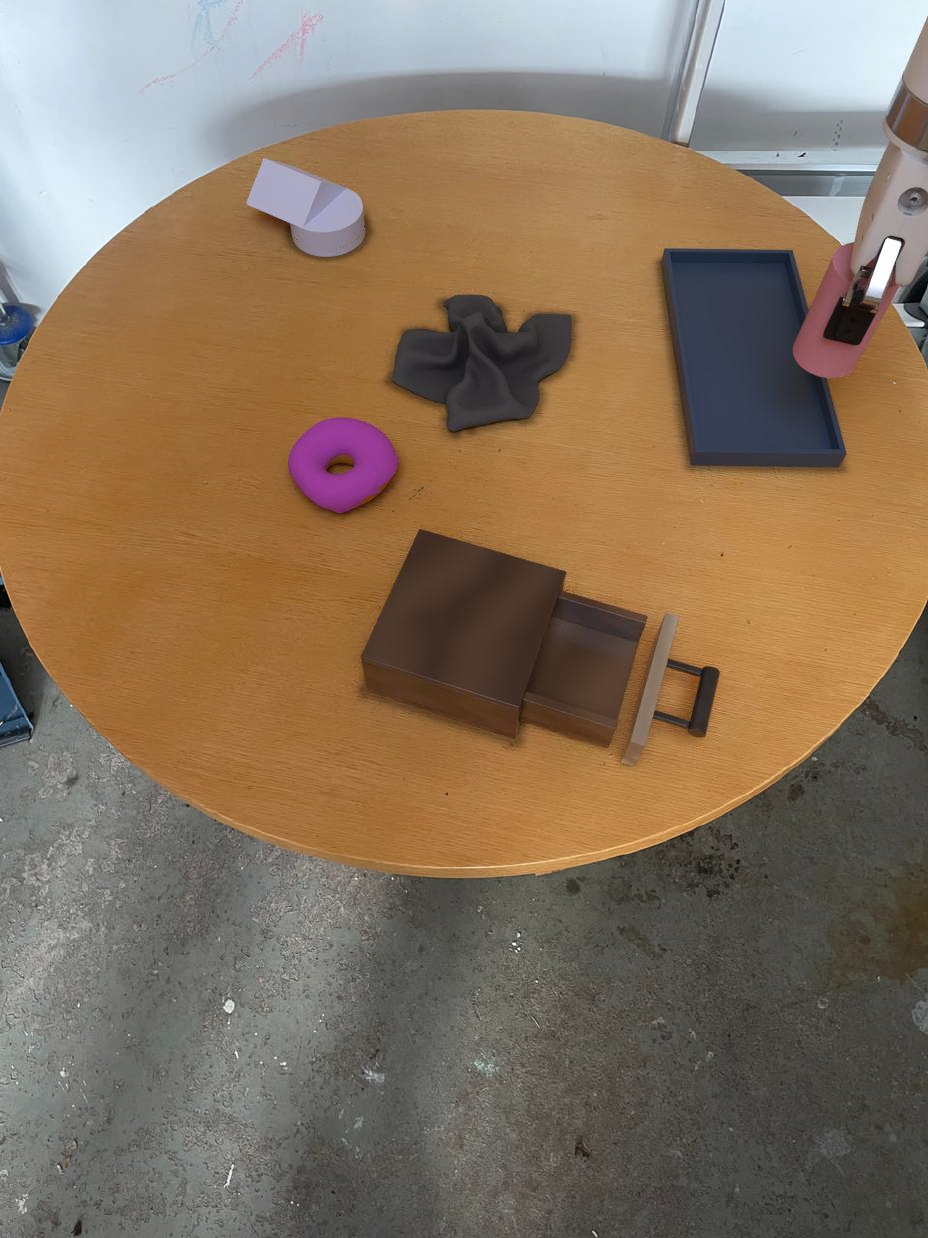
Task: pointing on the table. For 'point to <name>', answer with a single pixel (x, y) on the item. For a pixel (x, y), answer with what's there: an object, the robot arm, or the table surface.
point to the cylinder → (810, 343)
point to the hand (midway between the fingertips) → (846, 312)
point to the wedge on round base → (310, 208)
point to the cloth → (482, 361)
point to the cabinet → (462, 631)
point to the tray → (746, 361)
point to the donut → (342, 445)
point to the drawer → (606, 676)
